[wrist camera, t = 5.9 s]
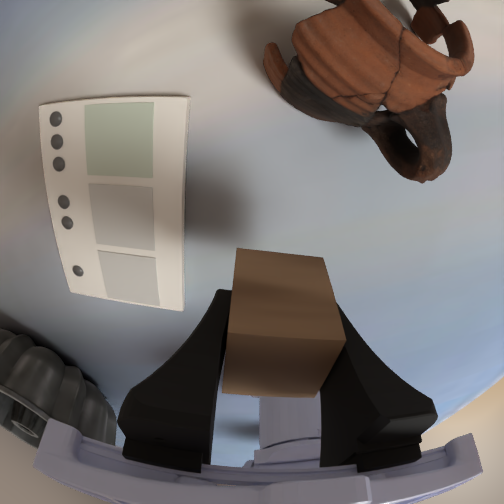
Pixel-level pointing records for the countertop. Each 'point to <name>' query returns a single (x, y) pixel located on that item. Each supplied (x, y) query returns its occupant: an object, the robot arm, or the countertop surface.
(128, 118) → the board
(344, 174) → the countertop surface
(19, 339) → the bundt pan
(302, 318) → the walnut block
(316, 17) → the pottery mug
